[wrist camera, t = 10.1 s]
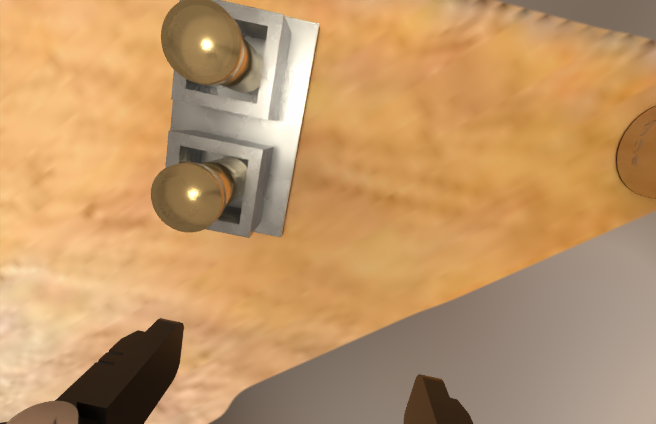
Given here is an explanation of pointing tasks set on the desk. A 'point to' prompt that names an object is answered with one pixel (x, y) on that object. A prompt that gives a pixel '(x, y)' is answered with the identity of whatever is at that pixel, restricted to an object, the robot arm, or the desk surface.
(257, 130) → the grey double holder
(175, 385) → the desk surface
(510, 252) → the desk surface
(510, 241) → the desk surface
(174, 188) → the brass stub
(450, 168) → the desk surface
